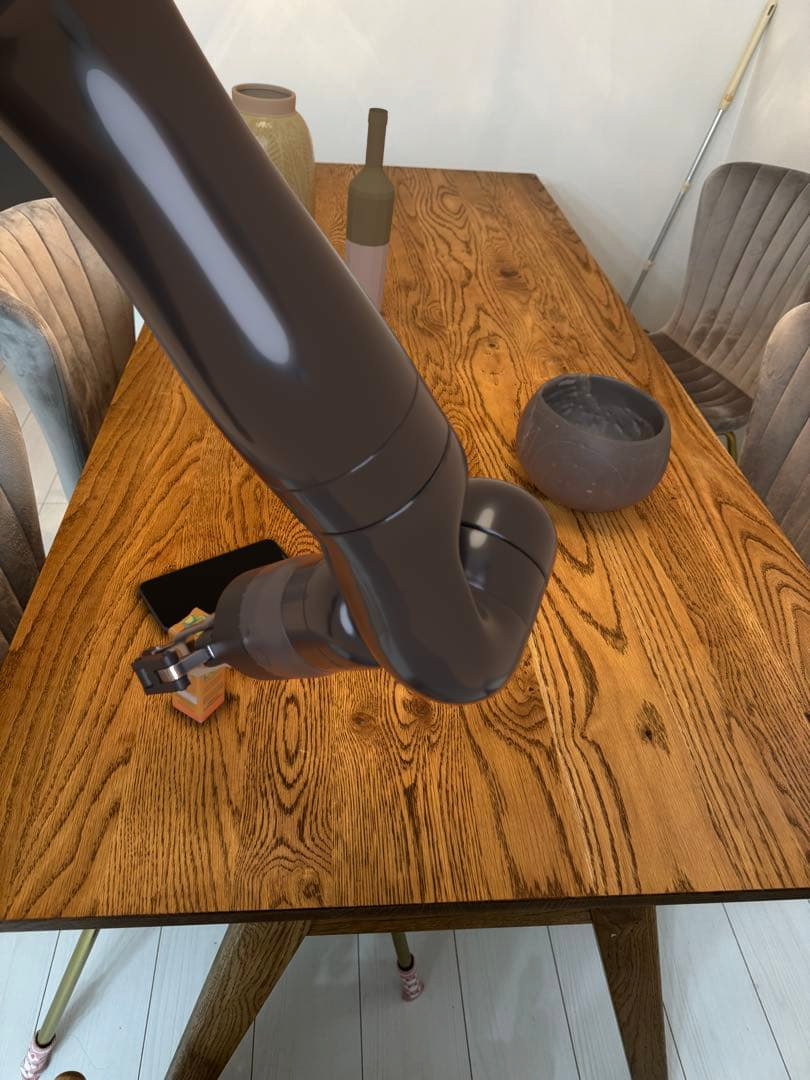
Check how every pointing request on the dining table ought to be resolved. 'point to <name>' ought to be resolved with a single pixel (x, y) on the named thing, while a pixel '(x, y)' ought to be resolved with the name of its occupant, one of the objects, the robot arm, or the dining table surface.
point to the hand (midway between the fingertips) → (199, 636)
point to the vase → (281, 135)
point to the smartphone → (203, 582)
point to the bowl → (593, 442)
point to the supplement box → (198, 679)
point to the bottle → (370, 213)
